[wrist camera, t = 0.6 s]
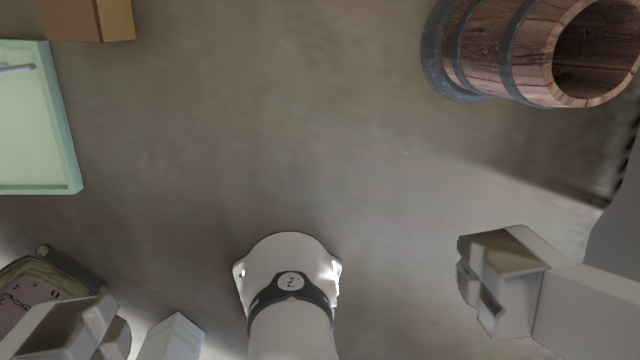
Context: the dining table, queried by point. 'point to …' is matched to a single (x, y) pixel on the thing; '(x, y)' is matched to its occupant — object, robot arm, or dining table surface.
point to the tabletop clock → (35, 287)
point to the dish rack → (34, 123)
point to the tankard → (532, 50)
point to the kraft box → (87, 20)
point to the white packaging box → (172, 340)
